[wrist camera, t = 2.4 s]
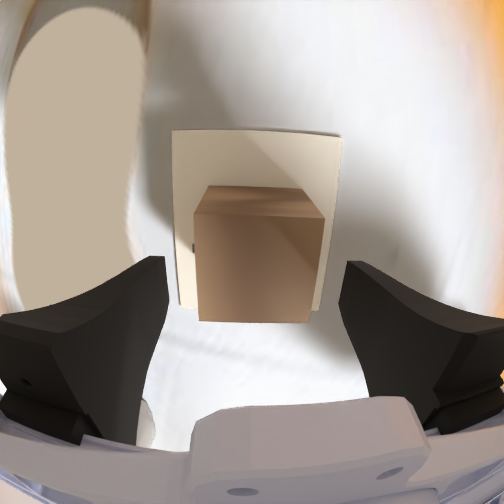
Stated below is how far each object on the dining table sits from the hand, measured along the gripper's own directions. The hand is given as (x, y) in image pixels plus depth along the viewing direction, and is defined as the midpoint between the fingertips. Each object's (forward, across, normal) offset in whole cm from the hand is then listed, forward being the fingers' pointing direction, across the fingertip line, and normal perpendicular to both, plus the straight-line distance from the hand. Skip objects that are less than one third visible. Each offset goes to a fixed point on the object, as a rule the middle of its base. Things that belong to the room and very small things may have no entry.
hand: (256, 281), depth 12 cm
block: (+6, 0, 0) cm, 6 cm away
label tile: (+6, 0, 0) cm, 6 cm away
